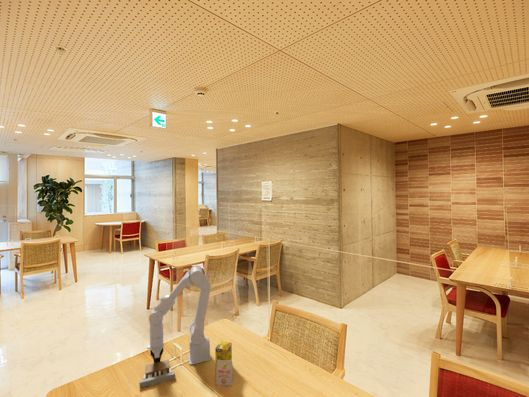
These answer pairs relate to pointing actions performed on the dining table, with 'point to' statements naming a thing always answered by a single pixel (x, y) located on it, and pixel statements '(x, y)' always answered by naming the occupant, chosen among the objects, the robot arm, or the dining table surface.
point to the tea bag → (224, 373)
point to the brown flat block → (157, 368)
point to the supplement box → (223, 351)
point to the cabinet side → (157, 379)
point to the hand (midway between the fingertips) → (157, 364)
